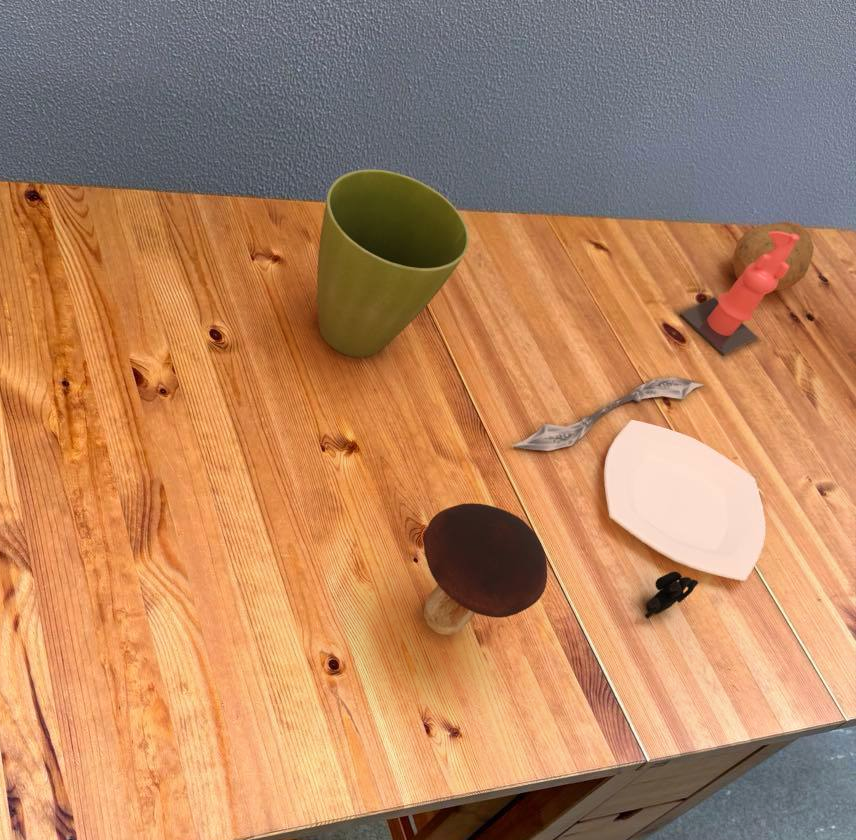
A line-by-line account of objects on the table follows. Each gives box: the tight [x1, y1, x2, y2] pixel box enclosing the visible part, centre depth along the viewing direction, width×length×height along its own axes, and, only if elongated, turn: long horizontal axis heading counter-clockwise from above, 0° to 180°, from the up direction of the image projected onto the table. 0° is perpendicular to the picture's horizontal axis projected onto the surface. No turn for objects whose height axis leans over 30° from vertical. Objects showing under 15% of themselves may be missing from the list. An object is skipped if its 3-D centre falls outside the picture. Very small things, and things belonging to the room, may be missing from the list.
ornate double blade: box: [511, 376, 704, 452], centre depth 113 cm, size 32×1×5 cm
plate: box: [603, 419, 766, 582], centre depth 107 cm, size 19×19×2 cm
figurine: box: [707, 231, 799, 336], centre depth 123 cm, size 5×5×15 cm
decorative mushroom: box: [423, 502, 548, 636], centre depth 84 cm, size 11×11×15 cm
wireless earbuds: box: [644, 571, 699, 619], centre depth 96 cm, size 7×2×5 cm, turn 121°
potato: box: [733, 221, 815, 292], centre depth 135 cm, size 10×14×8 cm
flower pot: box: [316, 168, 470, 359], centre depth 103 cm, size 15×15×16 cm
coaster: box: [679, 297, 758, 357], centre depth 129 cm, size 8×8×1 cm
